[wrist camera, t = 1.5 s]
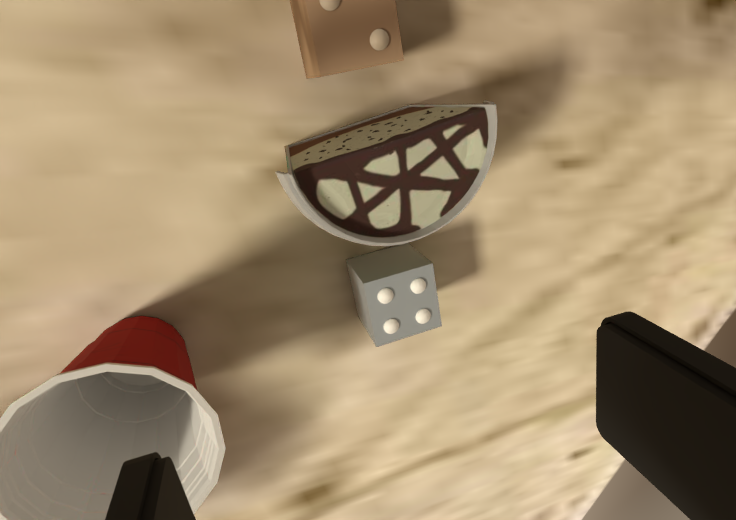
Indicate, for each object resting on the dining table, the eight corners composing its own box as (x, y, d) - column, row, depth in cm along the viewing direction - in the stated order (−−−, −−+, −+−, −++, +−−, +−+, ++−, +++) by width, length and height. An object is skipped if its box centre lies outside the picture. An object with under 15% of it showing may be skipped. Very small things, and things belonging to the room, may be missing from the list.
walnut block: (288, -7, 30) (300, -25, 25) (364, -20, 31) (390, -39, 26) (306, 78, 32) (321, 76, 27) (378, 64, 33) (404, 59, 28)
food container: (293, 236, 35) (319, 288, 26) (263, 153, 32) (279, 178, 23) (447, 179, 37) (522, 209, 28) (429, 97, 34) (505, 100, 25)
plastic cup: (255, 344, 37) (269, 453, 26) (149, 439, 37) (119, 586, 26) (140, 246, 32) (98, 327, 21) (19, 354, 32) (-85, 490, 21)
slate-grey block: (345, 259, 36) (364, 284, 32) (407, 242, 37) (433, 263, 33) (358, 316, 38) (377, 348, 34) (416, 298, 39) (442, 326, 35)
